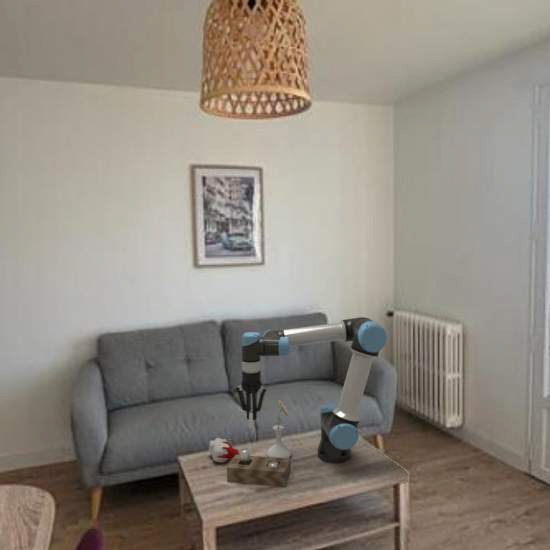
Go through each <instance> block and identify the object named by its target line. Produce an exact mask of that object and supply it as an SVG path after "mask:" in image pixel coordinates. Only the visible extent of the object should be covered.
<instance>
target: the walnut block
mask: <svg viewBox="0 0 550 550" xmlns="http://www.w3.org/2000/svg"><path fill="white" fill-rule="evenodd" d="M270 462H277V463H278V467H268V464H269V463H270ZM291 464H292V461H291V458H275V457H268V456H259V455H250V464H248V465H242V464H240V454H239V455H235V456H234V458H231V461H230V462H229V463H228V465H227V466H226V479H227V480H226V481H227V482H228V483H229V482H230V483H239V484H250V485H263V486H271V487H273V486H274V487H283V488H285V487H286V485H287V483H288V480H289V479H290V475H291V473H292V465H291Z"/></svg>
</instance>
